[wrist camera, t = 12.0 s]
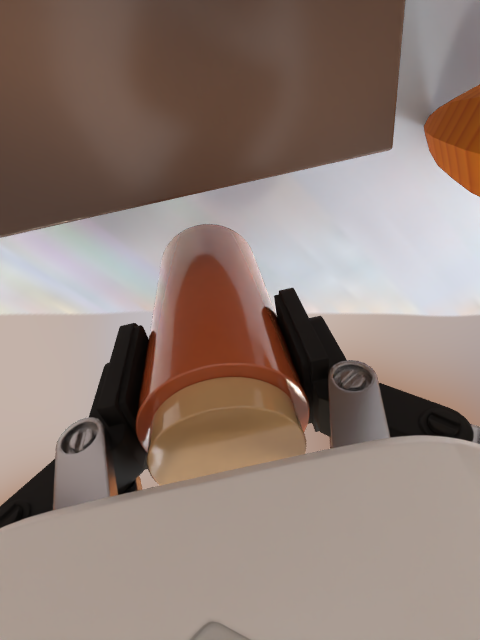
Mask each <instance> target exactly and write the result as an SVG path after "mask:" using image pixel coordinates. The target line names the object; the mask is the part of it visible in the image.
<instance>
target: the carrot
mask: <svg viewBox="0 0 480 640" xmlns="http://www.w3.org/2000/svg"><path fill="white" fill-rule="evenodd" d="M424 130H425V136H426V139H427V143H428V147H429V151H430V153H431V154H432V156H433V158H434V160H435V162H436V163H437V165H438V166H439V167H440V168H441V169H442V170H443V171H445V172H446V173H447V174H448V175H449V176H450V177H451V178H452V179H454V180H455V181H456V182H458V183H459V184H460V185H462V186H463V187H464V188H466V189H467V190H468V191H470V192H471V193H473V194H475V195H477V196H479V197H480V85H478V86H476V87H474V88H472V89H470V90H468V91H467V92H465V93H463V94H461V95H459V96H457V97H456V98H454V99H453V100H451V101H449V102H448V103H446V104H444V105H443V106H441V107H439V108H438V109H437V110H436V111H434V112H433V113H432V114H431V115H430V116H429V117H428V119H427V121H426V123H425V125H424Z"/></svg>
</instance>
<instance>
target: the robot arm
mask: <svg viewBox="0 0 480 640" xmlns="http://www.w3.org/2000/svg"><path fill="white" fill-rule="evenodd" d="M274 298H275V305H276V312H277V318H278V321H279V324H280V326H281V329H282V332H283V334H284V337H285V340H286V342H287V345H288V348H289V350H290V353H291V356H292V358H293V361H294V364H295V366H296V369H297V372H298V374H299V377H300V380H301V382H302V385H303V388H304V390H305V393H306V395H307V398H308V401H309V406H310V416H309V421H308V424H309V423H312V424H313V426H314V429H315V431H316V432H317V431H320V432H321V433H323V434H326V435H327V436H329V437H330V449H327V450H322V451H317V452H313V453H308V454H303V455H298V456H294V457H289V458H284V459H280V460H275V461H270V462H266V463H261V464H256V465H252V466H247V467H243V468H238V469H233V470H229V471H224V472H220V473H215V474H211V475H206V476H201V477H197V478H192V479H188V480H183V481H179V482H174V483H170V484H165V485H161V486H157V487H152V488H147V489H143V490H142V485H141V480H140V477H139V475H140V474H141V473H142V472H143V471H144V470H145V469H148V467H147V452H146V451H145V450H144V449H143V447H142V446H141V444H140V442H139V440H138V437H137V434H136V425H135V423H136V417H137V411H138V404H139V398H140V392H141V386H142V379H143V373H144V367H145V361H146V354H147V348H148V342H149V339H148V337H147V335H146V333H145V330H144V328H143V327H142V326H141V325H140V326H138V325H137V324H136V323H132V324H128V325H124V326H120V328H119V331H118V335H117V338H116V342H115V346H114V349H113V352H112V356H111V359H110V363H107V364H106V365H105V366H104V369H103V372H102V376H101V379H100V382H99V385H98V389H97V392H96V395H95V399H94V402H93V405H92V409H91V412H90V415H89V418H84V419H81V420H79V421H77V422H75V423H73V424H72V425H70V426H69V427H68V428H67V429H66V430H65V431H64V432H63V433H62V434H61V436H60V438H59V440H58V441H57V445H56V456H55V459H54V460H53V461H52V462H51V463H50V464H48V465H47V466H46V467H45V468H44V469H43V470H42V471H40V472H39V473H38V474H37V475H36V476H35V477H34V478H32V479H31V480H30V481H29V482H28V483H27V484H25V485H24V486H23V487H22V488H21V489H20V490H19V491H18V492H17V493H15V494H14V495H13V496H12V497H11V498H9V499H8V500H7V501H6V502H5V503H4V504H2V505H1V506H0V640H480V427H479V426H475V425H472V424H470V423H469V422H468V421H467V419H466V418H465V417H464V416H462V415H461V414H460V413H458V412H457V411H454V410H453V409H450V408H448V407H445V406H442V405H440V404H437V403H434V402H431V401H429V400H426V399H423V398H420V397H417V396H415V395H412V394H409V393H406V392H403V391H401V390H398V389H395V388H392V387H390V386H387V385H384V384H381V383H378V378H377V375H376V373H375V371H374V370H373V369H372V368H371V367H370V366H368V365H367V364H365V363H362V362H359V361H353V360H348V361H347V360H346V358H345V356H344V354H343V353H342V351H341V349H340V347H339V346H338V344H337V342H336V340H335V339H334V337H333V335H332V333H331V332H330V330H329V328H328V326H327V325H326V323H325V321H324V319H323V318H322V317H321V316H318V317H313V318H308V316H307V314H306V312H305V310H304V308H303V306H302V304H301V302H300V300H299V298H298V296H297V294H296V292H295V290H294V288H289V289H285V290H280V291H279V295H275V296H274Z"/></svg>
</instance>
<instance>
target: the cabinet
mask: <svg viewBox="0 0 480 640" xmlns="http://www.w3.org/2000/svg"><path fill="white" fill-rule="evenodd" d="M404 9H405V0H0V238H1V237H5V236H10V235H14V234H19V233H23V232H28V231H32V230H37V229H41V228H46V227H50V226H54V225H59V224H63V223H68V222H72V221H77V220H81V219H86V218H90V217H94V216H99V215H103V214H108V213H112V212H117V211H121V210H126V209H130V208H135V207H139V206H143V205H148V204H152V203H157V202H161V201H166V200H170V199H175V198H179V197H183V196H188V195H192V194H197V193H201V192H206V191H210V190H215V189H219V188H224V187H228V186H232V185H237V184H241V183H246V182H250V181H255V180H259V179H264V178H268V177H272V176H277V175H281V174H286V173H290V172H295V171H299V170H304V169H308V168H312V167H317V166H321V165H326V164H330V163H335V162H339V161H344V160H348V159H353V158H357V157H361V156H366V155H370V154H375V153H379V152H384V151H388V150H390V149H392V145H393V133H394V122H395V111H396V99H397V88H398V77H399V66H400V54H401V43H402V32H403V20H404Z"/></svg>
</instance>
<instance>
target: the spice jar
mask: <svg viewBox="0 0 480 640" xmlns="http://www.w3.org/2000/svg"><path fill="white" fill-rule="evenodd" d="M309 416H310V406H309V401H308V398H307V395H306V393H305V390H304V388H303V385H302V382H301V380H300V377H299V374H298V372H297V369H296V366H295V364H294V361H293V358H292V356H291V353H290V350H289V348H288V345H287V342H286V340H285V337H284V334H283V332H282V329H281V326H280V324H279V321H278V318H277V316H276V313H275V310H274V308H273V305H272V302H271V300H270V297H269V294H268V292H267V289H266V286H265V284H264V281H263V278H262V276H261V273H260V270H259V268H258V265H257V262H256V260H255V257H254V254H253V252H252V249H251V248H250V246H249V244H248V243H247V242H246V241H245V239H244V238H243V237H242V236H240V235H239V234H238V233H236V232H235V231H233V230H231V229H229V228H226V227H224V226H220V225H213V224H203V225H197V226H194V227H190V228H188V229H186V230H184V231H182V232H181V233H179V234H178V235H177V236H175V237H174V238H173V239H172V240H171V241H170V243H169V244H168V246H167V247H166V249H165V251H164V253H163V256H162V261H161V267H160V273H159V280H158V286H157V292H156V298H155V305H154V311H153V317H152V324H151V330H150V336H149V342H148V348H147V354H146V361H145V367H144V373H143V379H142V386H141V392H140V398H139V404H138V411H137V417H136V423H135V425H136V434H137V437H138V440H139V442H140V444H141V446H142V447H143V449H144V450H145V451H146V452H147V467H148V470H149V472H150V474H151V476H152V478H153V479H154V480H155V481H156V482H157V483H158V484H159V485H160V486H161V485H165V484H170V483H174V482H179V481H183V480H188V479H192V478H197V477H201V476H206V475H211V474H215V473H220V472H224V471H229V470H233V469H238V468H243V467H247V466H252V465H256V464H261V463H266V462H270V461H275V460H280V459H284V458H289V457H294V456H298V455H303V454H305V451H306V438H305V434H304V431H305V429H306V427H307V424H308V421H309Z"/></svg>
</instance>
